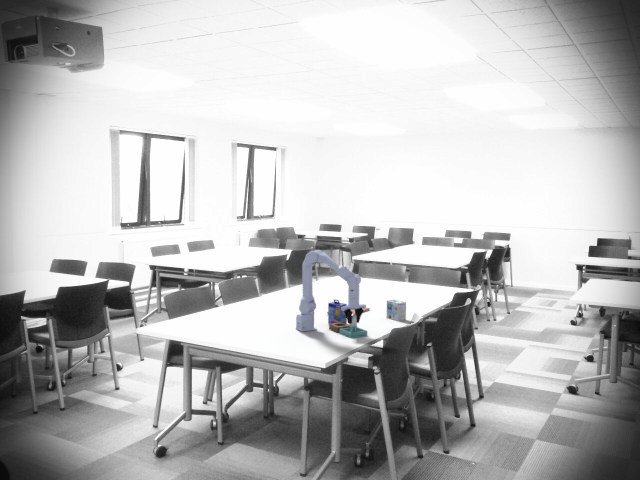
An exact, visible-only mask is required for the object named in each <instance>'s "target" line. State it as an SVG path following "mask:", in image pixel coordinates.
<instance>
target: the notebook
mask: <svg viewBox="0 0 640 480" xmlns="http://www.w3.org/2000/svg"><path fill="white" fill-rule="evenodd" d="M370 309H371V307H366V309H364V308H363V313H364V312H367V311H370ZM351 311H352V314H355V309H353V310H351ZM327 314H328V311H327Z"/></svg>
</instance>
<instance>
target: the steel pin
mask: <svg viewBox="0 0 640 480" xmlns="http://www.w3.org/2000/svg"><path fill="white" fill-rule="evenodd" d="M348 324H349V323H348ZM357 327H358V323H357V314H352V317H351V324H349V332H351V333H352V332H357Z"/></svg>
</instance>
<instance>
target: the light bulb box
mask: <svg viewBox="0 0 640 480" xmlns="http://www.w3.org/2000/svg"><path fill="white" fill-rule="evenodd" d="M386 319H390V320H393V321H396V322H398V321H399V322H401V321H406V320H407V302H406V301H401V300H398V299H390V300H389V299H388V300H387V301H386Z"/></svg>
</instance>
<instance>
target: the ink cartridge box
mask: <svg viewBox="0 0 640 480" xmlns="http://www.w3.org/2000/svg"><path fill="white" fill-rule="evenodd" d="M327 304H328V305H327V306H328V307H327V309H328V311H327V312H328V313H327V315H328V316H327V317H328V318H327V319H328V320H327V321H328V323H327V324H328V325H329V324H333V323H341V322H343V323H346V324H348V321H347V317H346V315H345V313H344V311H342V310H341V307H343V306H347V305H348V303H344V302H340V301H339V299H333V301H332V302H328V303H327Z"/></svg>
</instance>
